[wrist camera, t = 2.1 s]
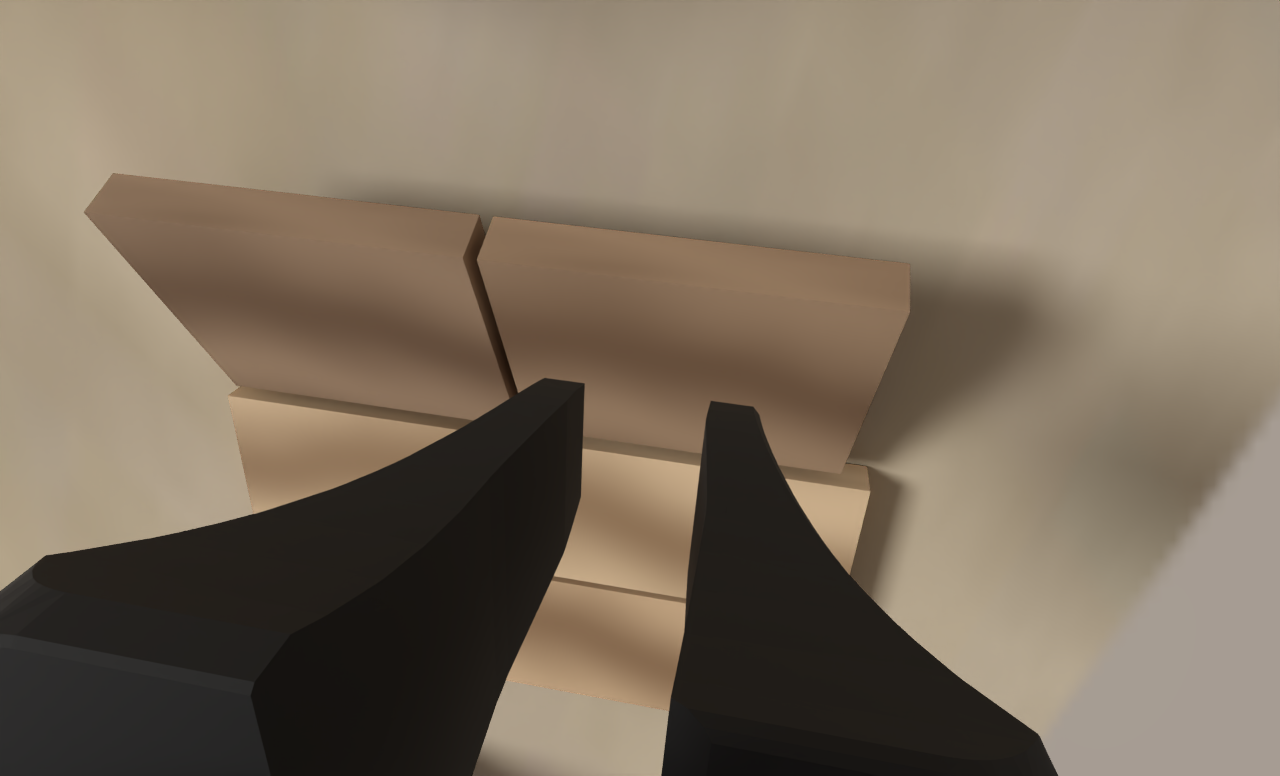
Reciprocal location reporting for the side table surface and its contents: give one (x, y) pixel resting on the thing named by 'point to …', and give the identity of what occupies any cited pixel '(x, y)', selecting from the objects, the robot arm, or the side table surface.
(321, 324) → the plank
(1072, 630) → the side table surface
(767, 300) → the plank
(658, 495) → the laid oak row
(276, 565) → the robot arm
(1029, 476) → the side table surface
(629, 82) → the side table surface
